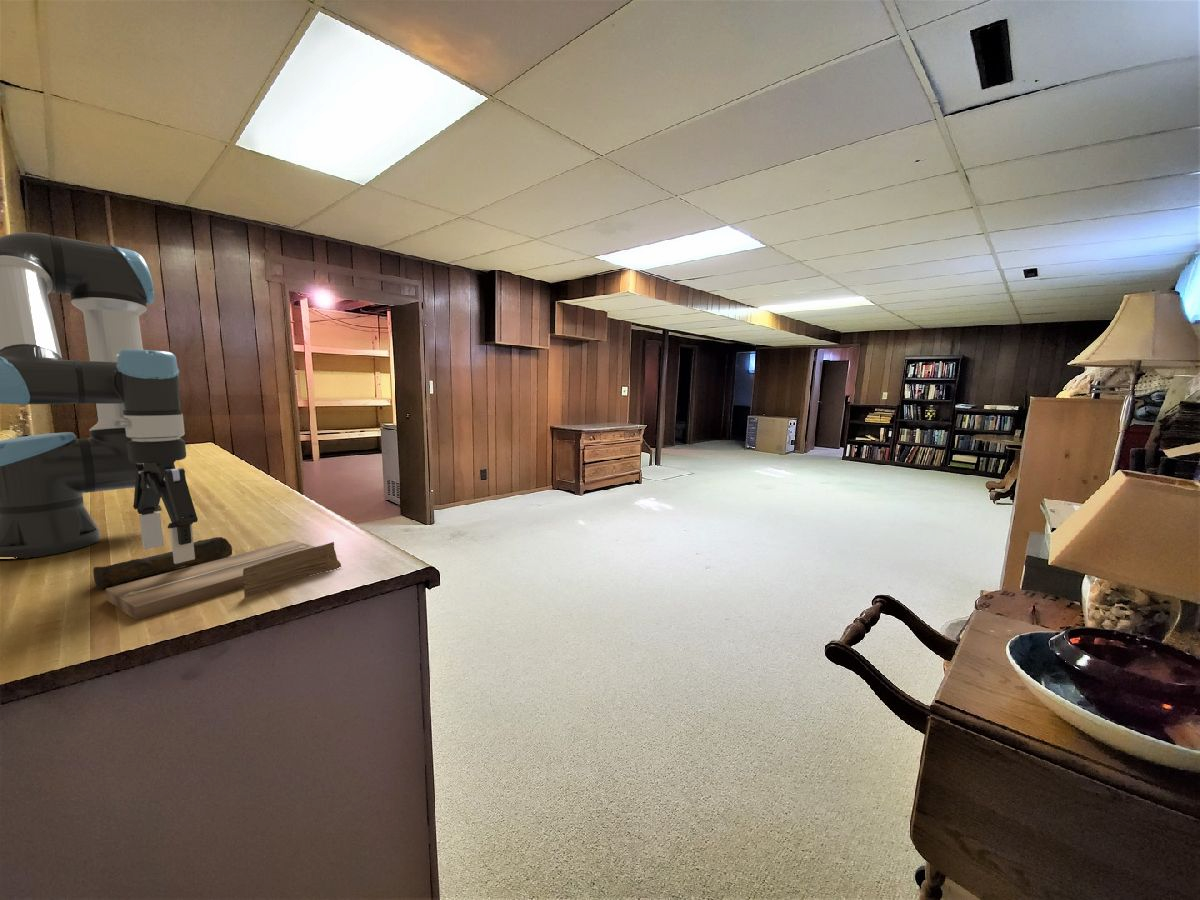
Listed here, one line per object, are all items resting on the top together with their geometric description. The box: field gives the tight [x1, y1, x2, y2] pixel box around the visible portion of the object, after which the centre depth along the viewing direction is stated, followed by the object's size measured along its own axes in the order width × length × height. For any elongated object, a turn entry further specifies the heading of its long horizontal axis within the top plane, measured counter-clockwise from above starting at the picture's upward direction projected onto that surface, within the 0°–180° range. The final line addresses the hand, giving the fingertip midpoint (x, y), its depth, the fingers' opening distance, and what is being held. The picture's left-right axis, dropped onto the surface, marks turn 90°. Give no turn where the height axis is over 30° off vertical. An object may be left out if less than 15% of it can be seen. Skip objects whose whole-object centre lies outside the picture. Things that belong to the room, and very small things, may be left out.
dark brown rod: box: [92, 536, 233, 590], centre depth 84 cm, size 19×4×5 cm, turn 146°
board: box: [105, 539, 315, 621], centre depth 82 cm, size 12×28×2 cm, turn 151°
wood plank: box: [242, 541, 342, 598], centre depth 81 cm, size 15×2×5 cm, turn 151°
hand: (168, 554), depth 85 cm, fingers open, 13 cm apart
